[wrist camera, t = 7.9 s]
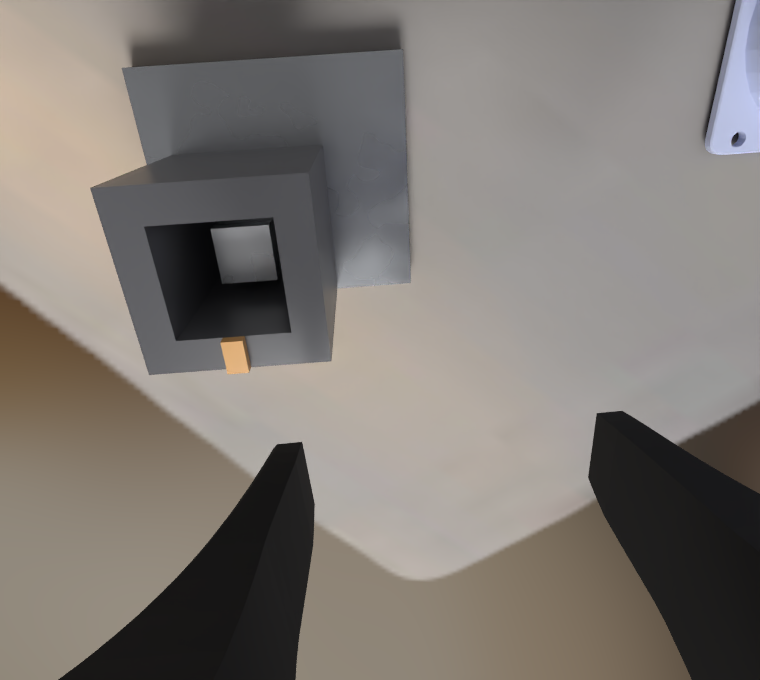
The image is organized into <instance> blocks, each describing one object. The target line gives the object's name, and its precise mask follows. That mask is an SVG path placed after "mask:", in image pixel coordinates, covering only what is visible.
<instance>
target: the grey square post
mask: <svg viewBox="0 0 760 680" xmlns="http://www.w3.org/2000/svg"><path fill="white" fill-rule="evenodd" d="M210 230H211V234H212V239H213V244H214V248H215V253H216V257H217V262H218V267H219V271H220V276H221V280H222V284H226V283H240V282H254V281H268V280H278V277H279V275H280V272H281V270H282V269H281V263H280V257H279V250H278V244H277V238H276V231H275V225H274V219H273V217H271V218H257V219H243V220H229V221H218V222H217V223H216V224H215V225H214V226H213V227H212V228H211V229H210Z"/></svg>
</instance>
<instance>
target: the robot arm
mask: <svg viewBox="0 0 760 680" xmlns="http://www.w3.org/2000/svg"><path fill="white" fill-rule="evenodd" d="M737 132H738V134H739V138H738V140H737V142H736V143H735V144H734V145H732V144H731V139H732V137H733V136H734V135H735V134H736V133H737ZM705 147H706V150H707V151H708V152H710V153H713V154H718V155H725V154H740V153H754V152H760V0H736V3H735V7H734V12H733V16H732V21H731V25H730V30H729V34H728V39H727V43H726V48H725V53H724V57H723V62H722V66H721V71H720V75H719V80H718V84H717V89H716V93H715V98H714V102H713V107H712V111H711V116H710V120H709V125H708V130H707V134H706V139H705ZM588 478H589V481H590V483H591V486H592V488H593V491H594V493H595V496H596V498H597V500H598V503H599V505H600V507H601V509H602V512H603V514H604V516H605V518H606V520H607V521H608V523H609V525H610V527H611V528H612V530H613V532H614V533H615V535H616V537H617V539H618V541H619V542H620V544H621V546H622V547H623V549H624V551H625V553H626V554H627V556H628V558H629V559H630V561H631V562H632V564H633V566H634V568H635V569H636V571H637V573H638V575H639V576H640V578H641V580H642V581H643V583H644V585H645V586H646V588H647V590H648V592H649V593H650V595H651V597H652V598H653V600H654V601H655V604H656V606H657V607H658V609H659V611H660V613H661V615H662V617H663V619H664V620H665V622H666V625H667V626H668V629H669V631H670V633H671V635H672V637H673V640H674V642H675V644H676V646H677V648H678V650H679V652H680V655H681V656H682V659H683V661H684V663H685V665H686V667H687V670H688V672H689V674H690V677H691V679H692V680H760V494H759V493H757V492H755V491H753V490H751V489H750V488H748V487H746V486H744V485H742V484H741V483H739V482H737V481H735V480H734V479H732V478H730V477H728V476H726V475H724V474H723V473H721V472H720V471H718V470H716V469H714V468H713V467H711V466H709V465H708V464H706V463H704V462H703V461H701V460H699V459H698V458H696V457H694V456H693V455H691V454H690V453H688V452H687V451H685V450H683V449H682V448H680V447H679V446H677V445H676V444H674V443H672V442H671V441H669V440H668V439H666V438H665V437H663V436H661V435H660V434H658V433H657V432H655V431H654V430H652V429H651V428H649V427H647V426H646V425H644V424H643V423H641V422H640V421H638V420H636V419H635V418H633V417H632V416H630V415H628V414H626V413H625V412H623V411H616V412H606V413H597V416H596V424H595V431H594V439H593V446H592V453H591V461H590V468H589V476H588ZM314 506H315V504H314V499H313V494H312V489H311V484H310V479H309V474H308V469H307V464H306V459H305V454H304V449H303V444H302V442H297V443H287V444H277V445H276V446H275V448H274V449H273V450H272V452H271V454H270V455H269V457H268V458H267V460H266V462H265V463H264V465H263V467H262V468H261V470H260V471H259V473H258V474H257V476H256V477H255V479H254V481H253V482H252V484H251V485H250V487H249V488H248V490H247V491H246V492H245V494H244V495H243V497H242V498H241V499H240V501H239V502H238V504H237V505H236V507H235V508H234V509H233V511H232V512H231V514H230V515H229V516H228V518H227V519H226V520H225V521H224V523H223V524H222V525H221V526H220V528H219V529H218V530H217V532H216V533H215V534H214V535H213V537H212V538H211V539H210V541H209V542H208V543H207V544H206V545H205V547H204V548H203V549H202V550H201V551H200V553H199V554H198V555H197V556H196V557H195V558H194V559H193V561H192V562H191V563H190V564H189V565H188V566H187V567H186V568H185V569H184V570H183V571H182V572H181V574H180V575H179V576H178V577H177V578H176V579H175V580H174V581H173V582H172V583H171V584H170V585H169V586H168V587H167V588H166V589H165V590H164V591H163V592H162V593H161V594H160V595H159V596H158V597H157V598H156V599H155V600H154V601H152V602H151V603H150V604H149V605H148V606H147V607H146V608H145V609H144V610H143V611H142V612H141V613H140V614H139V615H138V616H137V617H135V618H134V619H133V620H132V621H131V622H130V623H129V624H127V625H126V626H125V627H124V628H123V629H122V630H121V631H119V632H118V633H117V634H116V635H115V636H114V637H112V638H111V639H110V640H109V641H108V642H106V643H105V644H104V645H103V646H101V647H100V648H99V649H98V650H97V651H95V652H94V653H93V654H92V655H90V656H89V657H88V658H86V659H85V660H84V661H83V662H81V663H80V664H79V665H77V666H76V667H75V668H73V669H72V670H71V671H69V672H68V673H67V674H65V675H64V676H63V677H61V678H60V679H59V680H295V678H296V662H297V661H296V660H297V651H298V642H299V634H300V627H301V621H302V614H303V607H304V600H305V595H306V588H307V581H308V575H309V569H310V562H311V555H312V548H313V535H314Z"/></svg>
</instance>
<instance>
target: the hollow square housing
mask: <svg viewBox="0 0 760 680" xmlns="http://www.w3.org/2000/svg"><path fill="white" fill-rule="evenodd" d="M90 189H91V192H92V195H93V199H94V202H95V205H96V208H97V211H98V214H99V217H100V221H101V224H102V227H103V230H104V233H105V236H106V240H107V243H108V246H109V249H110V252H111V255H112V259H113V262H114V265H115V268H116V271H117V274H118V278H119V281H120V284H121V287H122V290H123V293H124V297H125V300H126V303H127V306H128V309H129V312H130V315H131V319H132V322H133V325H134V328H135V331H136V334H137V338H138V341H139V344H140V347H141V350H142V353H143V357H144V360H145V363H146V366H147V369H148V372H149V375H155V374H168V373H181V372H194V371H208V370H221V369H227V374H237V373H249V371H250V369H251V367H261V366H274V365H287V364H300V363H314V362H327V361H331V359H332V347H333V334H334V322H335V310H336V298H337V276H336V267H335V258H334V248H333V239H332V229H331V220H330V211H329V201H328V192H327V182H326V173H325V163H324V154H323V145H310V146H296V147H281V148H267V149H253V150H238V151H224V152H210V153H196V154H181V155H171V156H168V157H166V158H163V159H161V160H158V161H156V162H153V163H151V164H148V165H146V166H143V167H141V168H139V169H136V170H134V171H131V172H129V173H126V174H124V175H121V176H119V177H116V178H114V179H111V180H109V181H106V182H104V183H101V184H99V185H96V186H94V187H92V188H90ZM271 217H273V219H274V225H275V231H276V238H277V244H278V250H279V257H280V263H281V269H282V270H281V272H280V275H279V277H278V280H268V281H254V282H240V283H226V284H222V280H221V276H220V271H219V267H218V262H217V257H216V253H215V248H214V244H213V239H212V234H211V230H210V229H211V228H212V227H213V226H214V225H215V221H229V220H243V219H257V218H271Z"/></svg>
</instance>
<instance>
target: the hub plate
mask: <svg viewBox="0 0 760 680" xmlns="http://www.w3.org/2000/svg"><path fill="white" fill-rule="evenodd" d="M122 71H123V75H124V79H125V82H126V86H127V90H128V94H129V98H130V102H131V106H132V109H133V113H134V117H135V121H136V125H137V129H138V133H139V136H140V140H141V144H142V148H143V152H144V156H145V159H146V163H147V165H148V164H151V163H153V162H156V161H158V160H161V159H163V158H166V157H168V156H171V155H181V154H196V153H210V152H224V151H238V150H253V149H267V148H281V147H296V146H310V145H323V154H324V163H325V173H326V182H327V192H328V201H329V211H330V220H331V229H332V239H333V248H334V258H335V267H336V276H337V288H348V287H362V286H376V285H389V284H403V283H411V274H410V244H409V214H408V185H407V155H406V125H405V96H404V66H403V49H399V50H384V51H369V52H354V53H339V54H324V55H308V56H293V57H278V58H263V59H248V60H233V61H218V62H203V63H188V64H173V65H158V66H143V67H128V68H122ZM217 222H218V221H215V224H216V223H217Z"/></svg>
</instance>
